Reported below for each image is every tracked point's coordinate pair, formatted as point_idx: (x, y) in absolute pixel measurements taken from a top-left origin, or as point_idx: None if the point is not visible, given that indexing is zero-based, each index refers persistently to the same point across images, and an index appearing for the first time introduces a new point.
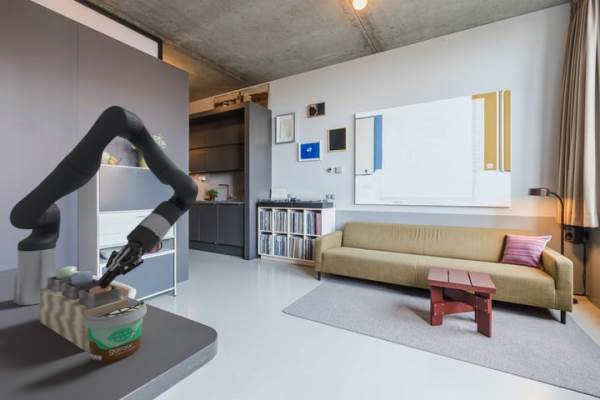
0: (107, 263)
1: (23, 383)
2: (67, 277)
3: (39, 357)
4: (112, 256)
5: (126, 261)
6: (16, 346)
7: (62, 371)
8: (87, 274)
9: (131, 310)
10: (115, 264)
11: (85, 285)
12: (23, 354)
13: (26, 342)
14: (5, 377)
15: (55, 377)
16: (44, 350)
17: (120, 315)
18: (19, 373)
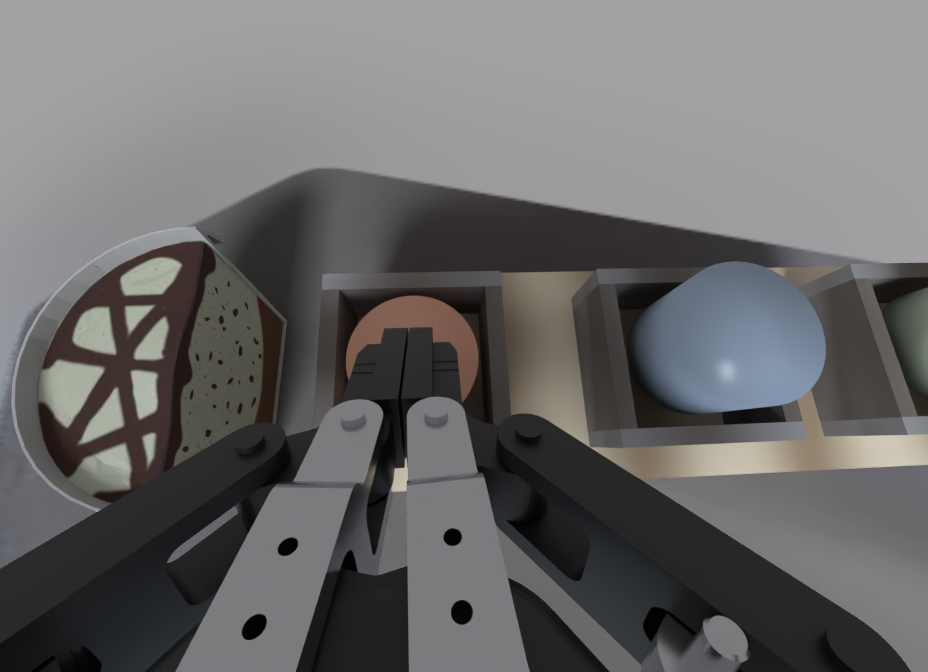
0: (571, 447)
1: (330, 192)
2: (907, 328)
3: (446, 247)
4: (670, 558)
5: (110, 557)
6: (582, 230)
7: (302, 257)
8: (681, 343)
9: (102, 411)
10: (364, 466)
11: (607, 340)
12: (505, 228)
13: (591, 252)
14: (400, 178)
15: (287, 239)
16: (484, 266)
17: (39, 320)
18: (392, 199)
